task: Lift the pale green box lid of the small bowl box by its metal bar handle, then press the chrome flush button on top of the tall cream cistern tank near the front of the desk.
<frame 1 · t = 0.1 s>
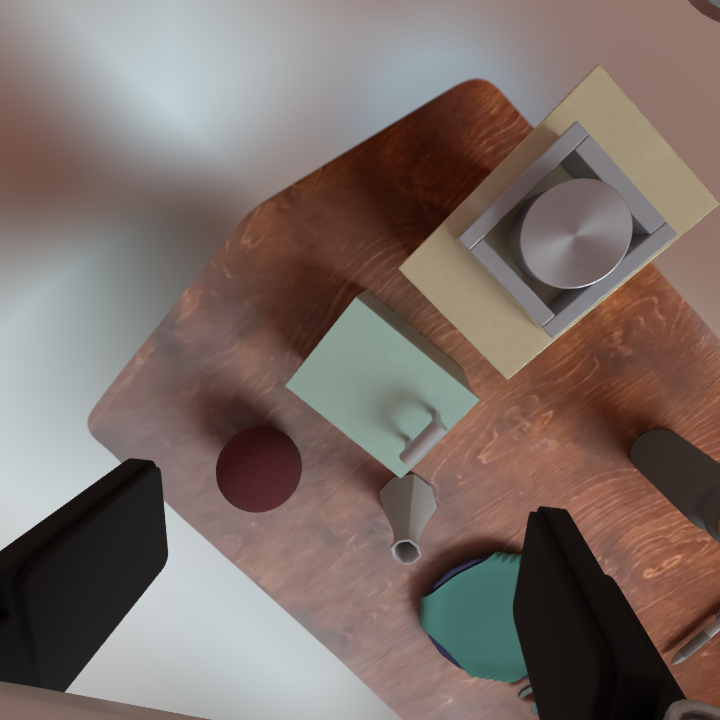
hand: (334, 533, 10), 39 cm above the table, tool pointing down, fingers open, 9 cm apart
bottle: (655, 450, 48), on the table
pen: (705, 622, 53), on the table
cistern: (477, 245, 44), on the table
pale green box lid: (377, 398, 39), point 10 cm above the table, hinge at 0.0°
flush button: (566, 236, 18), point 28 cm above the table, slide at 0.1 cm
cutlery set: (520, 632, 57), on the table
flask: (407, 497, 54), on the table
decorative ball: (274, 448, 54), on the table
bowl box: (383, 366, 49), on the table
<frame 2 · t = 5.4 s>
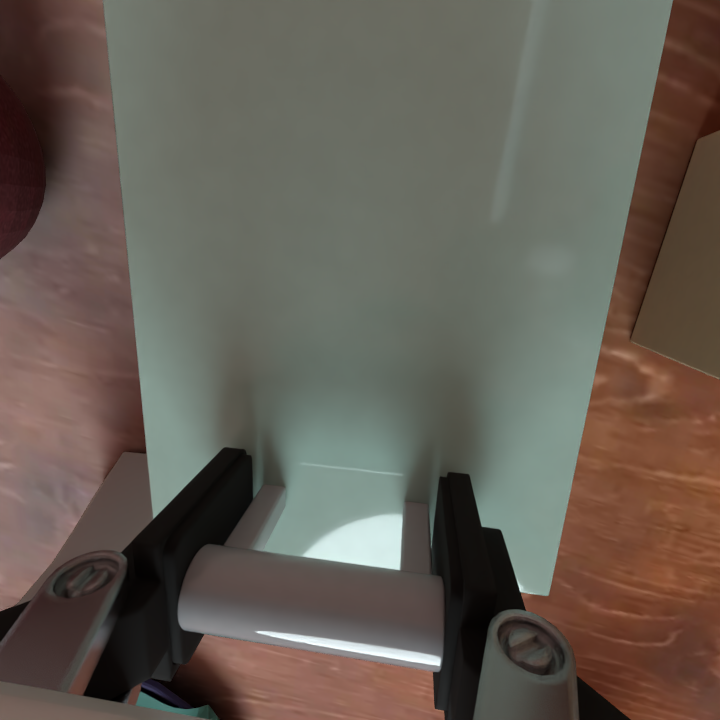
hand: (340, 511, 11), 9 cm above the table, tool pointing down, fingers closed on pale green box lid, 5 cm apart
pale green box lid: (340, 314, 8), point 10 cm above the table, hinge at 0.0°, touching gripper
flask: (164, 504, 23), on the table
decorative ball: (8, 169, 20), on the table
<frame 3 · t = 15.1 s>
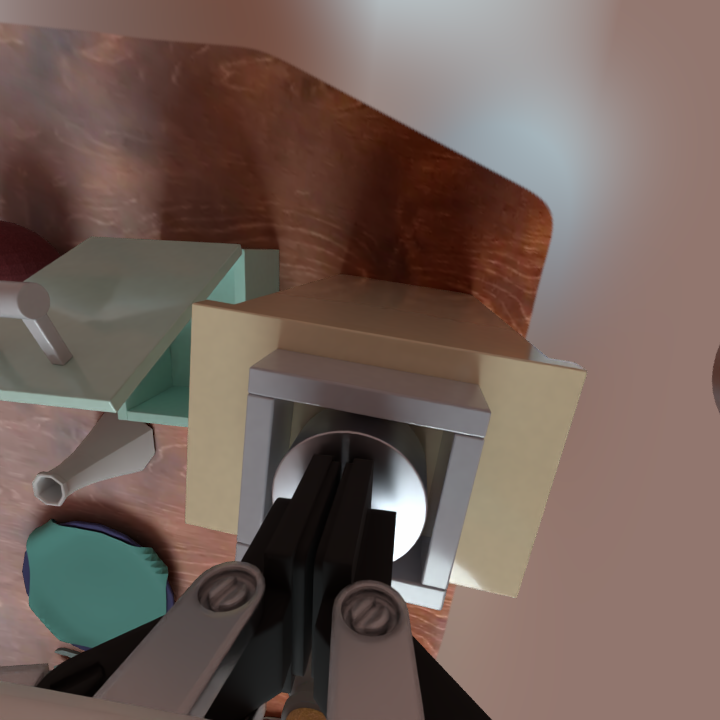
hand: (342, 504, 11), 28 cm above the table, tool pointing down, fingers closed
bottle: (340, 595, 47), on the table
pen: (242, 715, 54), on the table
cistern: (397, 327, 38), on the table
pale green box lid: (84, 270, 23), point 16 cm above the table, hinge at 64.2°
flush button: (353, 483, 12), point 27 cm above the table, slide at -0.8 cm, touching gripper
cutlery set: (108, 611, 53), on the table
flask: (127, 439, 45), on the table
decorative ball: (51, 274, 42), on the table
bowl box: (221, 324, 40), on the table
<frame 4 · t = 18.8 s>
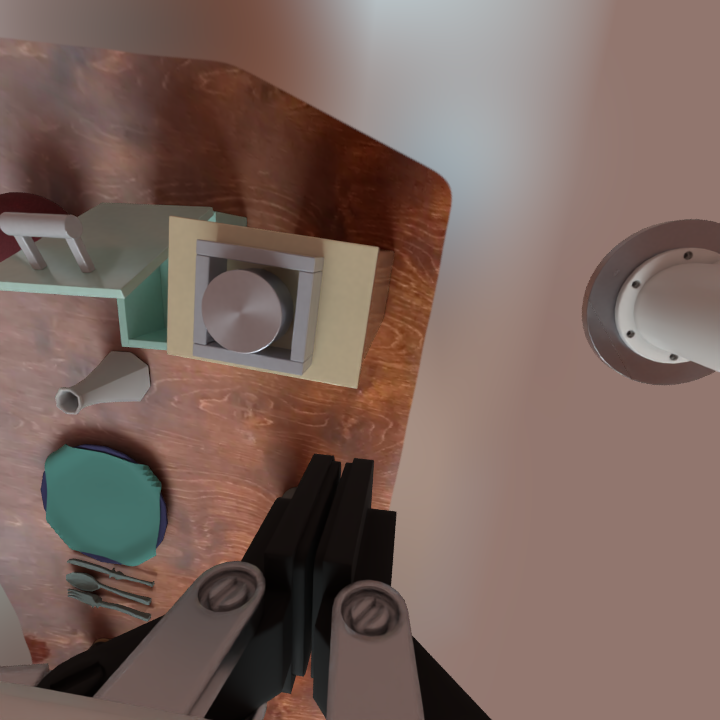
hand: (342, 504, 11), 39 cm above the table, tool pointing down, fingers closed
cistern: (339, 278, 49), on the table
pale green box lid: (100, 218, 34), point 16 cm above the table, hinge at 64.2°
flush button: (249, 309, 22), point 27 cm above the table, slide at 0.1 cm
cutlery set: (112, 526, 63), on the table
flask: (128, 375, 56), on the table
decorative ball: (67, 240, 52), on the table
bowl box: (202, 278, 51), on the table
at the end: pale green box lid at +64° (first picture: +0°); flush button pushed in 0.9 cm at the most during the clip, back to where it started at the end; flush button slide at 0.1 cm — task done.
